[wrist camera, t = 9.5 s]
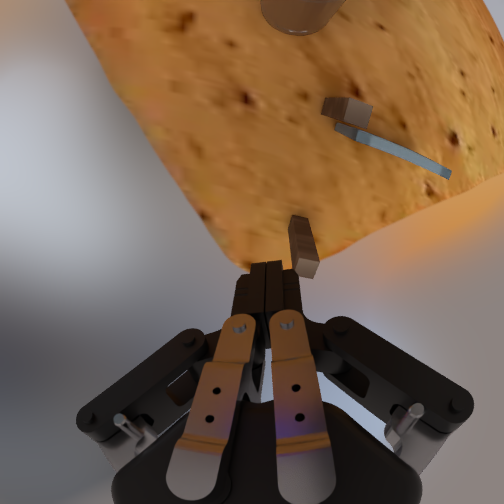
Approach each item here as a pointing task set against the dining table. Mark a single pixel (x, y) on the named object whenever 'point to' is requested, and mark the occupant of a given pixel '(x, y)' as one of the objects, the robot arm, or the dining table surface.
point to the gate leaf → (392, 149)
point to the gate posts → (299, 227)
